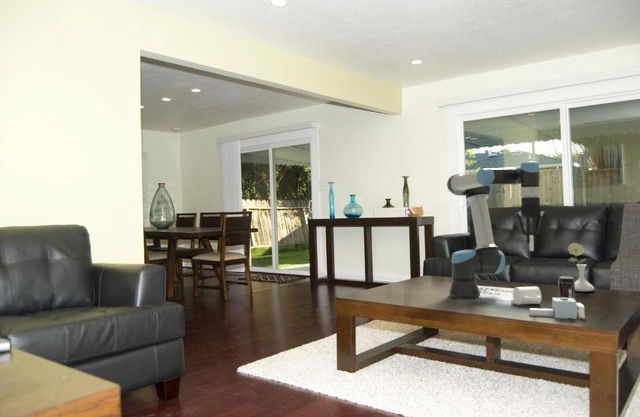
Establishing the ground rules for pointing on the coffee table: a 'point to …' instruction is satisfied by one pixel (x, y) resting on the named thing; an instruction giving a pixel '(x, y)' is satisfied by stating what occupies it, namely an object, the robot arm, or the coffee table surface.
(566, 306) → the block
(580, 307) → the rail
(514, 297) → the mug
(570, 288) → the beverage can
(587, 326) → the coffee table surface
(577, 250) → the flower in vase
